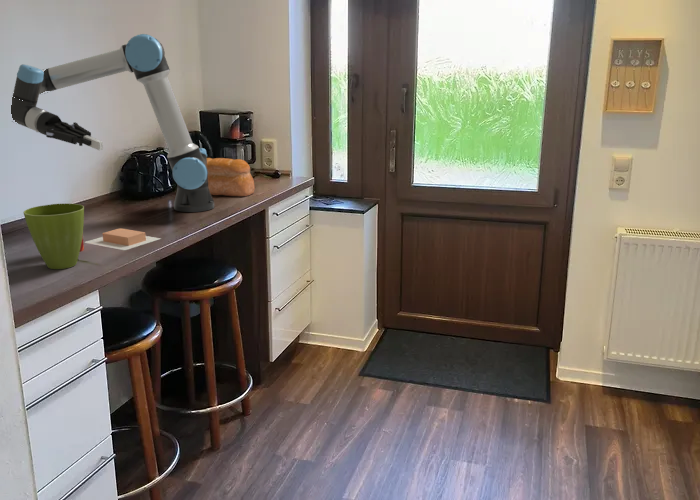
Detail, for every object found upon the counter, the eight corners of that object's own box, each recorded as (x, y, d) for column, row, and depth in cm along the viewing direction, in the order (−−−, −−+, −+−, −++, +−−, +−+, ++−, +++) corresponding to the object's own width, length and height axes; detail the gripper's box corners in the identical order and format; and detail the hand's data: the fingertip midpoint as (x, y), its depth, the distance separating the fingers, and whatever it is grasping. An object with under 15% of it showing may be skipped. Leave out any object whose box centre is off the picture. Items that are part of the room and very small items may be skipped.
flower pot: (26, 276, 169) (17, 216, 164) (37, 259, 183) (29, 204, 178) (87, 271, 173) (80, 213, 168) (93, 255, 186) (86, 202, 182)
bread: (245, 198, 267) (244, 161, 262) (188, 195, 273) (186, 159, 269) (258, 192, 279) (256, 157, 275) (203, 189, 286) (201, 155, 281)
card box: (120, 228, 205) (145, 232, 200) (120, 236, 205) (146, 240, 200) (102, 233, 199) (128, 237, 194) (103, 241, 200) (128, 245, 195)
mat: (120, 233, 211) (120, 231, 211) (161, 240, 203) (161, 238, 203) (83, 244, 198) (82, 242, 198) (124, 252, 190) (124, 250, 190)
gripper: (59, 129, 219) (114, 152, 213) (28, 137, 208) (85, 161, 202) (59, 108, 216) (116, 131, 210) (28, 115, 205) (86, 139, 199)
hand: (101, 146), depth 206 cm, fingers closed
